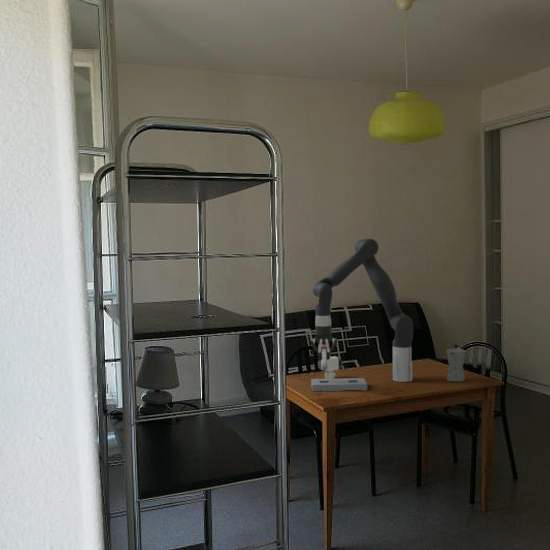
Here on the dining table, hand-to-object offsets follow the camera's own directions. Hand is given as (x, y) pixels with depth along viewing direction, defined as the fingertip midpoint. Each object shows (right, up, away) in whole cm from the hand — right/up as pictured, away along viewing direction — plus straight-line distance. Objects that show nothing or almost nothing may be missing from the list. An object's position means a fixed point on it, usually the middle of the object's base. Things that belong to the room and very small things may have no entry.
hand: (324, 359), depth 301 cm
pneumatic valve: (+5, -13, +20) cm, 24 cm away
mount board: (+7, -14, +1) cm, 15 cm away
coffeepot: (+67, -12, +12) cm, 69 cm away
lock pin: (0, -5, 0) cm, 5 cm away
